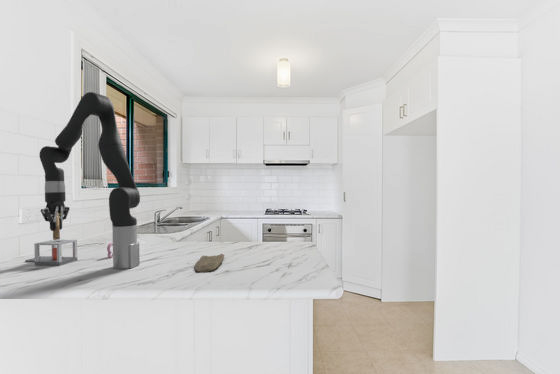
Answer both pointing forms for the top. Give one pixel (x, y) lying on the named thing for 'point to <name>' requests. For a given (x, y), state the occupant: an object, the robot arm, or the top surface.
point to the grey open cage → (60, 259)
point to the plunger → (54, 253)
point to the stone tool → (208, 263)
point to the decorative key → (109, 250)
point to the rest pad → (40, 258)
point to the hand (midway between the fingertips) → (56, 229)
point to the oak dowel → (56, 233)
